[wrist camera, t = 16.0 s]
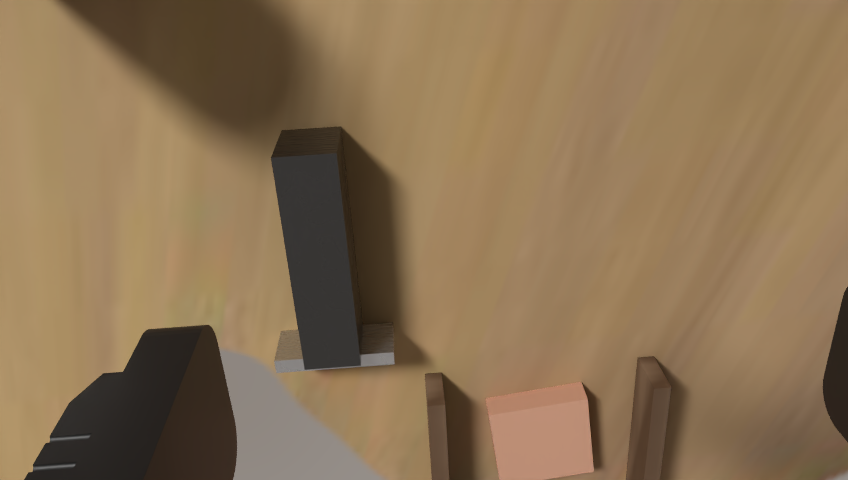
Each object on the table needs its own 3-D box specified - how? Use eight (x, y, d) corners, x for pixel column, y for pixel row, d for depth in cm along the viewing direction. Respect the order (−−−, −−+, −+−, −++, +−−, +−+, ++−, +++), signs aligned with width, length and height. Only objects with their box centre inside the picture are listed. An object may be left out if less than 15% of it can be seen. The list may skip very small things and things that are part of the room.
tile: (579, 378, 45) (587, 399, 44) (586, 449, 48) (593, 471, 46) (484, 394, 46) (488, 415, 44) (496, 463, 48) (500, 486, 47)
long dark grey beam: (375, 123, 37) (374, 150, 33) (393, 333, 43) (394, 375, 39) (247, 132, 37) (232, 160, 33) (283, 341, 43) (273, 384, 39)
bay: (654, 356, 44) (671, 387, 42) (637, 505, 50) (652, 540, 47) (424, 373, 44) (427, 406, 41) (434, 521, 50) (437, 558, 47)
